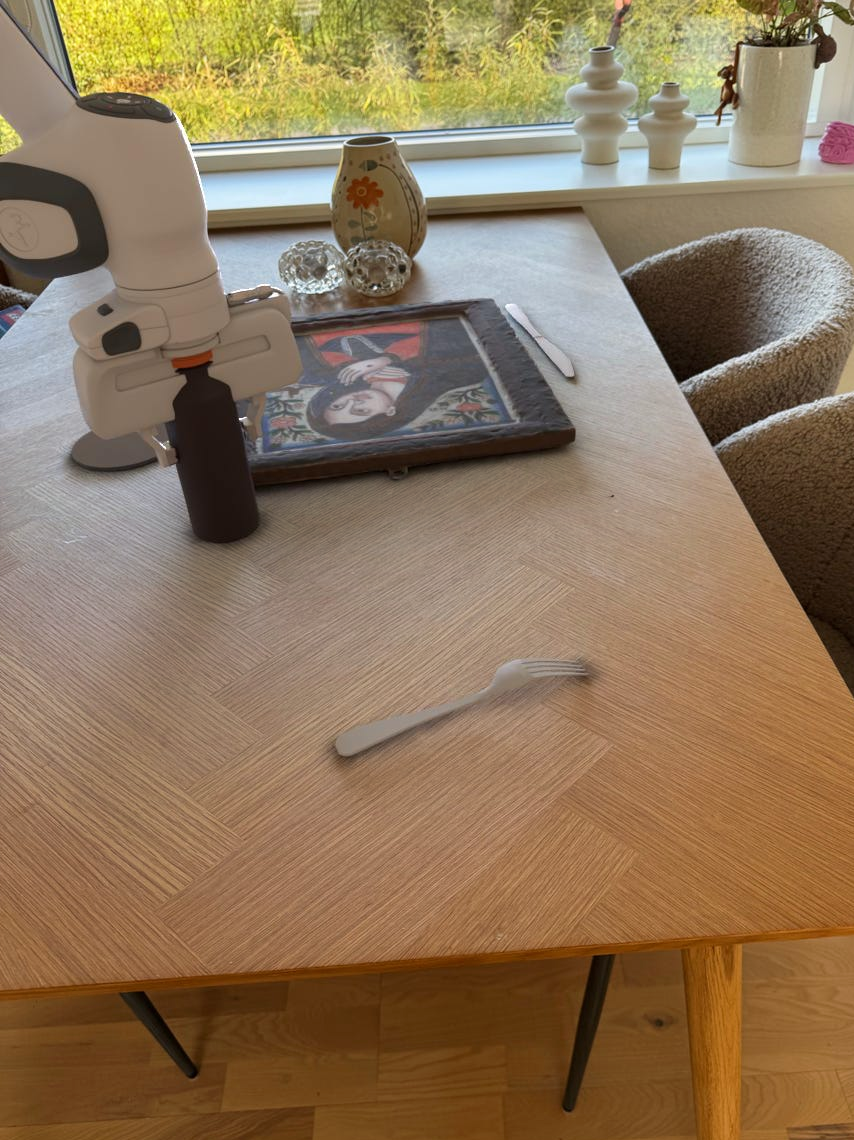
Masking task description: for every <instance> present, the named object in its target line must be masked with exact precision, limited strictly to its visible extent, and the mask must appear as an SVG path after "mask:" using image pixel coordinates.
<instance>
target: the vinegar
mask: <svg viewBox="0 0 854 1140" xmlns="http://www.w3.org/2000/svg"><path fill="white" fill-rule="evenodd" d="M212 357H213V355H212V350H211V349H210V350H208V351H206V352H204V353H201V354H197V355H193V356H188V357H182V358H174V359H172V361H171V362H172V366H173V368H178V369H177V370H176V371H175V373H179V374H185V377H186V381H187V382H186V384H185V385H184V386H183V387H182V388H181V389H180V391H179V392H178V394H177V395H176V397H175V398H174V400H173V403H172V405H173V409H174V412H175V419H174V420H172V421H168V422H165V427H166V431H167V434H168V438H169V442H170V444H171V445H173V446H174V448H175V450H176V454H177V455H176V457H177V458H178V461H179V463H178V464H175V468H176V471H177V475H178V480H179V483H180V486H181V491H182V494H183V498H184V502H185V505H186V509H187V513H188V517H189V520H190V525H191V528H192V532H193V533H194V535H196V536H197V538H199V539H201V540H203V541H206V542H210V543H211V542H212V543H229V542H233V541H237V540H240V539H242V538H245V537H247V536H249V535H250V534H251V533H253V532H254V531H255V530H256V529H257V528H258V526H259V525H260V521H261V515H260V510H259V504H258V501H257V496H256V492H255V486H253V481H252V477H251V472H250V467H249V463H248V458H247V453H246V449H245V444H244V439H243V434H242V430H241V425H240V420H239V416H238V411H237V406H236V402H234V400H233V397H232V392H231V388H230V386H229V385H228V384H226V383H224V382H222V381H220V380H218V379H215V378H213V377H210V376H209V374H208V367H209V366H210V365H211V364H212V363H213V361H209V360H210V359H211V358H212Z"/></svg>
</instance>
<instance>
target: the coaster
mask: <svg viewBox="0 0 854 1140" xmlns="http://www.w3.org/2000/svg"><path fill="white" fill-rule="evenodd" d="M156 428H157V432H158V435H157V436H154V438H155V439H156V440H157V441H158V442H160V443H163V442H167V441H169V438H168V434H167V431H166V427H165V423H162V424H158V425H156ZM71 456H72V459H73V462H74V463H76V465H78V466H80V467H82V468H83V469H87V470H91V471H97V472H117V471H126V470H131V469H135V468H140V467H143V466H145V465H149V464H151V463H153V462H156V461H158V458H157V455H156V452H155V449H154V448H153V447H151V446H150V445H149V444H148V443H147V442H146V441H145V440H144V439H143V438H142V437H141V436H140V435H139V434H138V432H137V431H135V432H132V433H128V434H125V435H122V436H118V437H115V438H112V439H107V440H106V439H103V438H101V437H99V436H98V435H96V434H95V433H93V432H92V431H91V430H90V431H89V432H86V433H85V434H84V435H82V436H81V437H80V438H78V439H77V441H75V442H74V444H73V445H72V448H71Z"/></svg>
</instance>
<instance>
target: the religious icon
mask: <svg viewBox="0 0 854 1140" xmlns="http://www.w3.org/2000/svg"><path fill="white" fill-rule="evenodd" d="M290 328H291V330H292V333H293V335H294V338H295V341H296V344H297V348H298V351H299V355H300V359H301V363H302V368H303V372H302V374H301V376H300V379H299V381H298V382H297V383H295V384H292V385H289V386H286V387H282V388H279V389H276V390H272V391H269V392H266V393H265V394H266V399H267V404H266V407H265V410H264V413H263V416H262V419H261V421H260V426H261V431H262V437H260V438H257V439H253V440H250V441H247V439H246V438H244V437H243V439H244V444H245V449H246V453H247V458H248V463H249V467H250V472H251V477H252V481H253V486H254V487H258V486H267V485H275V484H285V483H293V482H302V481H306V480H307V481H308V480H316V479H326V478H334V477H341V476H347V475H356V474H361V473H362V474H363V473H369V472H380V471H388V474H389V476H390V478H392V479H394V480H395V479H396V480H397V479H402V478H404V477H405V476H407V474H408V468H409V467H418V466H423V465H431V464H437V463H447V462H452V461H459V460H466V459H473V458H481V457H488V456H489V457H490V456H497V455H503V454H511V453H512V454H513V453H522V452H530V451H538V450H545V449H546V450H547V449H551V448H556V447H564V446H567V445H569V444H571V443H574V442H575V441H576V434H577V433H576V432H577V430H576V427H575V425H574V424H573V422H572V421H571V419H570V418H569V417H568V415H567V413H566V412H565V410H564V408H563V406H562V404H561V402H560V401H559V400H558V398H557V397H556V395H555V394H554V391H553V389H552V387H551V386H550V385H549V383H548V381H547V380H546V378H545V376H544V374H543V373H542V372H541V370H540V368H539V367H538V364H537V363H536V362H535V360H534V359H533V358H532V356H531V354H530V353H529V351H528V349H527V348H526V347H525V346H524V344H523V342H522V341H520V337H517V335H516V332H515V329H514V327H511V324H510V322H509V321H508V320H507V317H506V316H505V314H504V313H502V310H501V308H500V307H499V306H498V305H497V303H496V302H495V299H494V298H488V297H479V298H468V299H455V300H454V299H446V300H442V301H437V302H431V301H422V302H413V303H407V304H392V305H391V304H389V305H383V306H372V307H364V308H358V309H349V310H341V311H334V312H322V313H314V314H308V315H301V316H292V320H291V324H290ZM235 402H236V406H237V411H238V416H239V419H242V418H245V417H246V415H247V411H248V407H249V404H250V402H249V401H248V400H247V399H242V400H239V401H235ZM241 428H242V427H241ZM398 471H401V472H403V474H402V475H400V476H399V475H398V476H397V475H395V473H397V472H398Z"/></svg>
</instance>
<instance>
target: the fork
mask: <svg viewBox="0 0 854 1140" xmlns="http://www.w3.org/2000/svg"><path fill="white" fill-rule="evenodd" d="M578 664H579V665H578ZM585 672H586V669H584V668H583V665H580V662H579V661H577V660H569V659H562V658H553V657H552V658H550V657H526V658H517V659H513V660H512V661H508V662H507V663H505V664H504V665H502V666H500V667H499V668H498V669H497V670H496V672H495V674H494V678H493V679H492V681H491V683H490V684H489V685H488V686H487V687H485V688H484V689H482V690H480V691H478V692H476V693H474V694H470V695H469V696H465V697H463V698H460V699H457V700H453V701H450V702H447V703H444V704H439V705H437V706H433V707H429V708H425V709H421V710H418V711H414V712H409V713H406V714H401V715H397V716H392V717H389V718H383V719H379V720H376V721H373V722H370V723H366V724H361V725H358V726H356V727H354V728H351V729H349V730H348V731H345V732H344V733H341V734H339V736H338V737H337V738H336V741H335V744H334V747H335V749H336V751H337V753H338V755H339V756H342V757H352V756H354V755H356V754H358V753H360V752H362V751H364V750H367V749H369V748H372V747H373V746H375V745H377V744H379V743H383V742H385V741H386V740H388V739H390V738H392V737H395V736H397V735H399V734H401V733H403V732H406V731H408V730H410V729H413V728H414V727H417V726H420V725H422V724H424V723H426V722H429V721H432V720H434V719H436V718H439V717H441V716H444V715H447V714H449V713H453V712H455V711H457V710H461V709H463V708H466V707H469V706H471V705H473V704H475V703H478V702H480V701H482V700H485V699H487V698H488V697H490V696H492V695H494V694H496V693H499V692H511V691H512V690H515V689H518V688H519V687H520V686H522V685H525V684H527V683H529V682H531V681H533V680H537V679H538V680H539V679H543V678H549V677H567V676H571V677H574V676H575V677H576V676H580V677H582V676H584V677H585V676H587V677H588V676H590V674H589V673H587V672H586V673H585Z"/></svg>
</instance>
